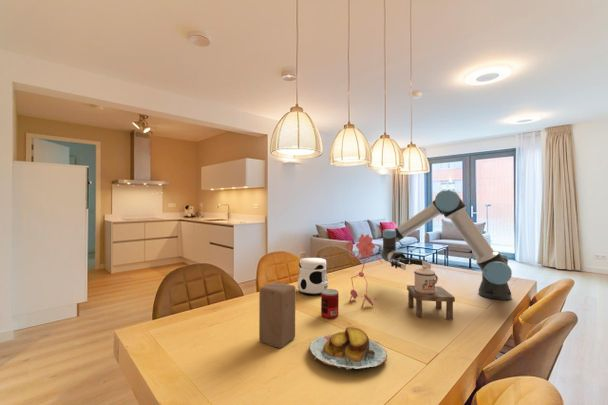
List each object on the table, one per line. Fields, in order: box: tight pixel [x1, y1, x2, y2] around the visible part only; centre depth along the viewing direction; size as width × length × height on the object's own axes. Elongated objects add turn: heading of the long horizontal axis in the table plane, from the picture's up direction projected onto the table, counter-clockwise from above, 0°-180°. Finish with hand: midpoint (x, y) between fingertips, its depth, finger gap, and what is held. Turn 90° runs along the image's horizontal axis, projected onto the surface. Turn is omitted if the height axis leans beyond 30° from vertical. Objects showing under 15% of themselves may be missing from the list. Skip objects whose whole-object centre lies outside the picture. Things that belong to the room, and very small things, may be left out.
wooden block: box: [258, 281, 296, 349], centre depth 105 cm, size 10×10×20 cm
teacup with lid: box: [413, 265, 439, 294], centre depth 133 cm, size 12×9×12 cm
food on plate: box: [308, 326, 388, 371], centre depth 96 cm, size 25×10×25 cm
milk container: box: [297, 257, 329, 296], centre depth 162 cm, size 17×17×18 cm
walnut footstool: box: [406, 285, 456, 321], centre depth 133 cm, size 16×16×10 cm
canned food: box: [320, 288, 340, 320], centre depth 128 cm, size 8×8×11 cm
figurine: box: [346, 233, 383, 308], centre depth 146 cm, size 15×26×35 cm, turn 31°
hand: (417, 266), depth 142 cm, fingers open, 13 cm apart
